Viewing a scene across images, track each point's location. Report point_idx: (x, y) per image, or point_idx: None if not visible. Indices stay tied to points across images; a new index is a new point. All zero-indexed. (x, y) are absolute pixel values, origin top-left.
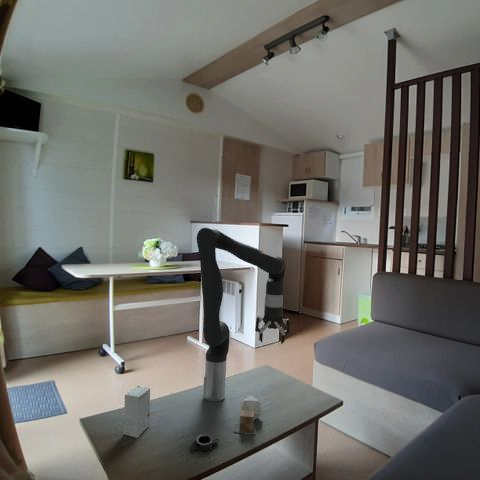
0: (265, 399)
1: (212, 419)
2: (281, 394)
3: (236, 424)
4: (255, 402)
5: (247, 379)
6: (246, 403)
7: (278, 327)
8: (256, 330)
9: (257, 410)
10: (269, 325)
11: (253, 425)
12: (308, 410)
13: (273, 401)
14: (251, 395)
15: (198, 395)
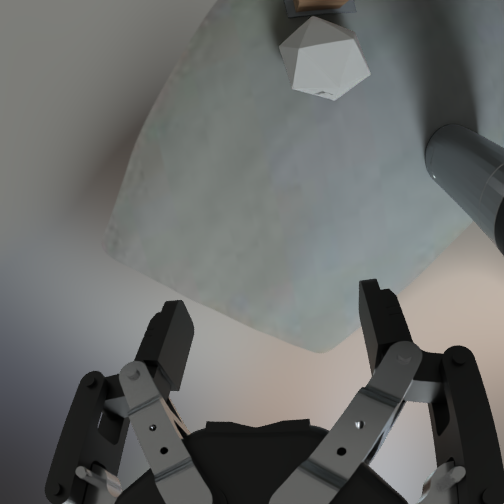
0: (295, 185)
1: (428, 29)
2: (250, 231)
3: (352, 8)
4: (307, 42)
5: None
6: (342, 32)
7: (163, 437)
8: (461, 354)
9: (294, 36)
10: (299, 460)
11: (295, 9)
12: (152, 171)
13: (266, 182)
14: (336, 83)
15: None
